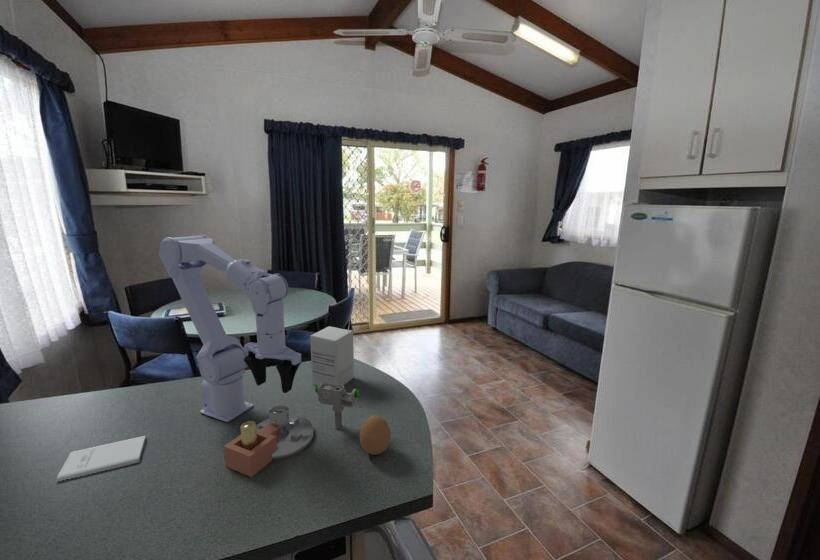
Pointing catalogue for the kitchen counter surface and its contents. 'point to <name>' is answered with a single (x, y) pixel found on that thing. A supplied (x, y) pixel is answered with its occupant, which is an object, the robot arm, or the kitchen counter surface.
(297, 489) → the kitchen counter surface
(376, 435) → the egg
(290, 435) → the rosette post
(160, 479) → the kitchen counter surface
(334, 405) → the mechanical component
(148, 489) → the kitchen counter surface
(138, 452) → the external hard drive
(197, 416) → the kitchen counter surface
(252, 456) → the bracket
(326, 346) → the supplement box
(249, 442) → the gold capsule
